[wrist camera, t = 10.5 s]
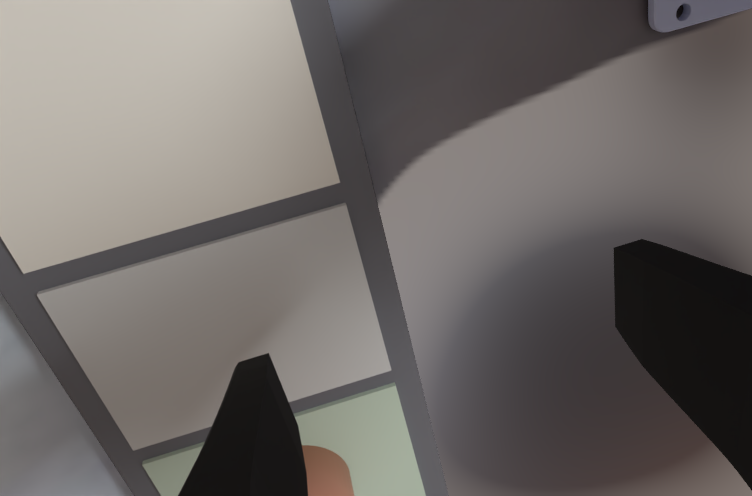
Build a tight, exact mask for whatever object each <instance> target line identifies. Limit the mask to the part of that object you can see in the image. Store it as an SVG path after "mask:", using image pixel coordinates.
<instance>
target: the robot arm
mask: <svg viewBox="0 0 752 496" xmlns="http://www.w3.org/2000/svg"><path fill="white" fill-rule="evenodd" d="M682 4H683V8H684V9H683V13H682V14H681V16H680V17H679V18H677V17H676V12H677V9H678V8H679V7H680V6H681V5H682ZM748 9H752V0H648V21H649V25H650V27H651V28H652V29H653V30H656V31H659V32H670V31H674V30H677V29H681V28H684V27H688V26H691V25H695V24H699V23H702V22H706V21H709V20H713V19H716V18H720V17H723V16H727V15H730V14H734V13H738V12H741V11H745V10H748ZM614 277H615V278H614V279H615V280H614V281H615V282H614V283H615V326H616V328H617V330H618V331H619V333H620V334H621V336H622V337H623V339H624V340H625V342H626V343H627V345H628V346H629V348H630V349H631V350H632V352H633V353H634V355H635V356H636V357H637V359H638V360H639V362H640V363H641V364H642V366H643V367H644V368H645V369H646V370H647V371H648V373H649V374H650V375H651V376H652V377H653V378H654V379H655V380H656V381H657V382H658V384H659V385H660V386H661V387H662V388H663V389H664V390H665V391H666V393H668V395H669V396H670V397H671V398H672V399H673V400H674V401H675V402H676V403H677V404H678V406H679V407H680V408H681V409H682V410H683V411H684V412H685V413H686V414H687V415H688V416H689V417H690V419H691V420H692V421H693V422H694V423H695V424H696V425H697V426H698V427H699V428H700V429H701V430H702V432H703V433H704V434H705V435H706V436H707V437H708V438H709V439H710V440H711V441H712V442H713V443H714V444H715V446H716V447H717V448H718V449H719V450H720V451H721V452H722V454H723V455H724V456H725V457H726V458H727V459H728V460H729V462H730V463H731V464H732V465H733V466H734V468H735V469H736V470H737V471H738V473H739V474H740V475H741V477H742V478H743V479H744V481H745V482H746V483H747V485H748V486H749V487H750V489H751V490H752V276H751V275H748V274H744V273H742V272H739V271H736V270H733V269H730V268H727V267H724V266H721V265H718V264H715V263H712V262H709V261H707V260H704V259H701V258H698V257H695V256H692V255H689V254H687V253H684V252H680V251H678V250H675V249H672V248H669V247H666V246H663V245H660V244H657V243H653V242H650V241H647V240H643V239H641V240H638V241H634V242H631V243H628V244H625V245H622V246H618V247H615V248H614ZM178 496H308V486H307V472H306V467H305V461H304V455H303V449H302V444H301V438H300V433H299V427H298V424H297V422H296V419H295V417H294V414H293V412H292V409H291V407H290V404H289V402H288V399H287V397H286V394H285V392H284V390H283V387H282V385H281V382H280V380H279V377H278V375H277V372H276V370H275V367H274V365H273V362H272V360H271V357H270V355H269V353H267V354H264V355H260V356H257V357H254V358H250V359H247V360H244V361H241V362H238V364H237V365H236V367H235V369H234V372H233V374H232V377H231V380H230V382H229V385H228V388H227V390H226V393H225V396H224V398H223V401H222V403H221V406H220V408H219V410H218V413H217V415H216V418H215V420H214V422H213V425H212V427H211V429H210V431H209V434H208V436H207V438H206V440H205V443H204V445H203V447H202V449H201V451H200V453H199V456H198V458H197V460H196V461H195V463H194V465H193V467H192V469H191V471H190V473H189V475H188V477H187V479H186V481H185V483H184V485H183V487H182V489H181V491H180V493H179V494H178Z"/></svg>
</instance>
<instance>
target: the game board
mask: <svg viewBox="0 0 752 496" xmlns="http://www.w3.org/2000/svg"><path fill="white" fill-rule="evenodd" d="M0 292H1V293H2V295H3V296H4V298H5V299H6V301H7V302H8V304H9V305H10V307H11V308H12V310H13V311H14V313H15V314H16V316H17V318H18V319H19V321H20V322H21V324H22V325H23V327H24V328H25V330H26V331H27V333H28V334H29V336H30V337H31V339H32V340H33V342H34V343H35V345H36V347H37V348H38V350H39V351H40V353H41V354H42V356H43V357H44V359H45V360H46V362H47V363H48V365H49V366H50V368H51V369H52V371H53V372H54V374H55V375H56V377H57V379H58V380H59V382H60V383H61V385H62V386H63V388H64V389H65V391H66V392H67V394H68V395H69V397H70V398H71V400H72V401H73V403H74V404H75V406H76V407H77V409H78V411H79V412H80V414H81V415H82V417H83V418H84V420H85V421H86V423H87V424H88V426H89V427H90V429H91V430H92V432H93V433H94V435H95V436H96V438H97V440H98V441H99V443H100V444H101V446H102V447H103V449H104V450H105V452H106V453H107V455H108V456H109V458H110V459H111V461H112V462H113V464H114V465H115V467H116V468H117V470H118V472H119V473H120V475H121V476H122V478H123V479H124V481H125V482H126V484H127V485H128V487H129V488H130V490H131V491H132V493H133V494H134V496H178V494H179V493H180V491H181V489H182V487H183V485H184V483H185V481H186V479H187V477H188V475H189V473H190V471H191V469H192V467H193V465H194V463H195V461H196V460H197V458H198V456H199V453H200V451H201V449H202V447H203V445H204V443H205V440H206V438H207V436H208V434H209V431H210V429H211V427H212V425H213V422H214V420H215V418H216V415H217V413H218V410H219V408H220V406H221V403H222V401H223V398H224V396H225V393H226V390H227V388H228V385H229V382H230V380H231V377H232V374H233V372H234V369H235V367H236V365H237V364H238V362H241V361H244V360H247V359H250V358H254V357H257V356H260V355H264V354H267V353H269V355H270V357H271V360H272V362H273V365H274V367H275V370H276V372H277V375H278V377H279V380H280V382H281V385H282V387H283V390H284V392H285V394H286V397H287V399H288V402H289V404H290V407H291V409H292V412H293V414H294V417H295V419H296V422H297V424H298V427H299V433H300V438H301V444H302V445H309V446H318V447H322V448H326V449H328V450H331V451H333V452H334V453H336V454H338V455H339V456H340V457H341V458H342V459H343V460H344V461H345V463H346V464H347V466H348V468H349V471H350V476H351V481H352V486H353V491H354V496H449V495H448V491H447V487H446V483H445V479H444V475H443V471H442V467H441V463H440V458H439V454H438V450H437V446H436V442H435V438H434V435H433V430H432V426H431V422H430V417H429V414H428V409H427V406H426V401H425V397H424V393H423V389H422V385H421V381H420V376H419V372H418V368H417V364H416V360H415V356H414V352H413V348H412V344H411V340H410V335H409V331H408V327H407V323H406V319H405V315H404V311H403V307H402V303H401V299H400V294H399V290H398V287H397V282H396V278H395V274H394V270H393V266H392V262H391V258H390V254H389V249H388V245H387V241H386V237H385V233H384V229H383V225H382V221H381V217H380V212H379V208H378V204H377V200H376V196H375V192H374V188H373V184H372V180H371V176H370V171H369V167H368V163H367V159H366V155H365V151H364V147H363V143H362V139H361V135H360V131H359V126H358V122H357V118H356V114H355V110H354V106H353V102H352V98H351V94H350V90H349V85H348V81H347V77H346V73H345V69H344V65H343V61H342V57H341V53H340V49H339V44H338V40H337V36H336V32H335V28H334V24H333V20H332V16H331V12H330V8H329V3H328V0H0Z"/></svg>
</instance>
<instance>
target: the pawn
mask: <svg viewBox="0 0 752 496" xmlns="http://www.w3.org/2000/svg"><path fill="white" fill-rule="evenodd" d="M302 449H303V455H304V461H305V467H306V472H307V486H308V496H354V491H353V486H352V481H351V476H350V471H349V468H348V466H347V464H346V463H345V461H344V460H343V459H342V458H341V457H340V456H339V455H338V454H336V453H334V452H333V451H331V450H328V449H326V448H322V447H318V446H309V445H302Z"/></svg>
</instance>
